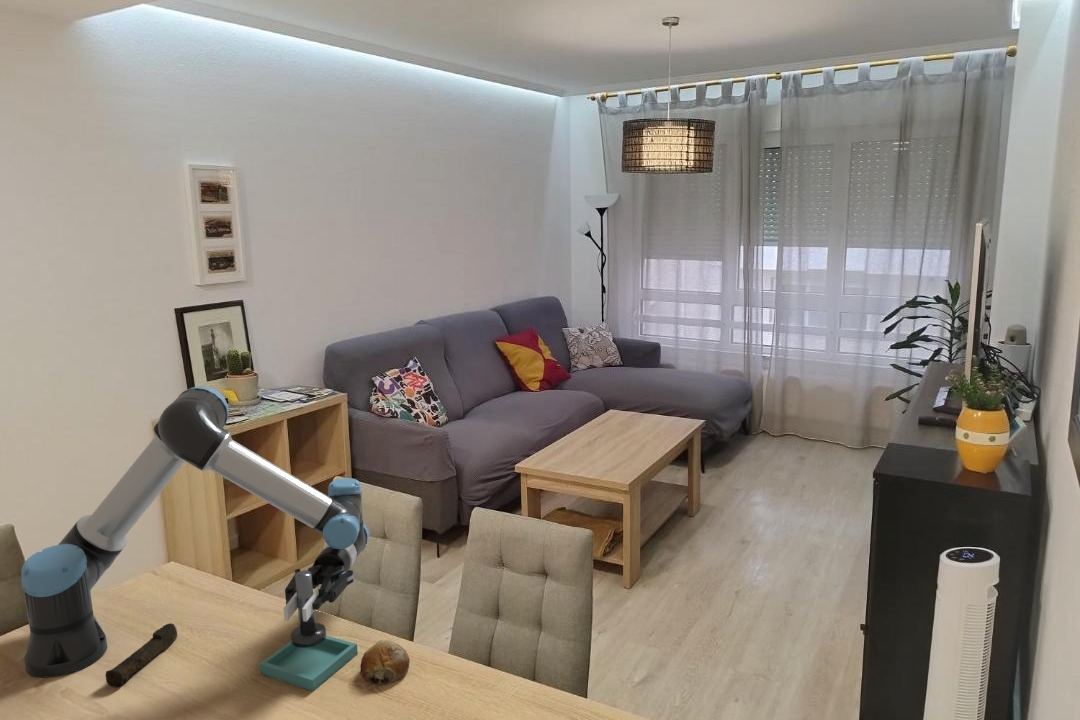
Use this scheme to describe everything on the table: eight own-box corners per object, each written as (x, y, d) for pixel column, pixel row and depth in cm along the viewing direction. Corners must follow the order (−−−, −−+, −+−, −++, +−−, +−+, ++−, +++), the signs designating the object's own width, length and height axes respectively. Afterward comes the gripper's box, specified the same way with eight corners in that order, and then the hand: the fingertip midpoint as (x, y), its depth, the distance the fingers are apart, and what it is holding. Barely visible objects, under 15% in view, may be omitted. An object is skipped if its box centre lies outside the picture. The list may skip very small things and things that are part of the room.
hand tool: (121, 690, 156) (119, 669, 155) (105, 687, 157) (102, 666, 156) (187, 640, 174) (185, 621, 173) (172, 637, 175) (170, 618, 174)
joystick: (284, 643, 161) (277, 578, 158) (307, 626, 167) (301, 563, 164) (310, 650, 158) (304, 585, 155) (333, 633, 164) (328, 569, 161)
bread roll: (414, 686, 162) (423, 647, 163) (383, 691, 153) (393, 650, 154) (378, 672, 167) (387, 634, 168) (346, 676, 158) (356, 636, 159)
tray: (260, 674, 160) (259, 663, 160) (306, 639, 173) (305, 629, 172) (313, 691, 155) (312, 680, 154) (357, 654, 167) (356, 643, 166)
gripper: (370, 576, 178) (336, 633, 155) (302, 575, 180) (257, 630, 157) (368, 546, 177) (333, 598, 154) (299, 545, 178) (254, 596, 155)
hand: (295, 614), depth 155 cm, fingers closed on joystick, 3 cm apart
